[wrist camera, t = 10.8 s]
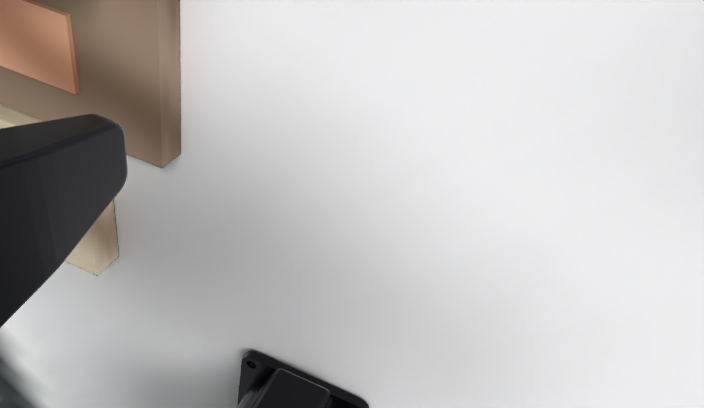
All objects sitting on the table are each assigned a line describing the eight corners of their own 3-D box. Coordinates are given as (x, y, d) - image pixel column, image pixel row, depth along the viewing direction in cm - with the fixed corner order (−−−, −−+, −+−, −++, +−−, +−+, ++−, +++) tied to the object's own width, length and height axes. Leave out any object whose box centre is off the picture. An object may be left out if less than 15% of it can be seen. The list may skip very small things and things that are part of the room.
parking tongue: (118, 256, 29) (97, 275, 28) (2, 205, 30) (-24, 221, 29) (107, 134, 24) (81, 151, 23) (-29, 81, 26) (-60, 94, 25)
